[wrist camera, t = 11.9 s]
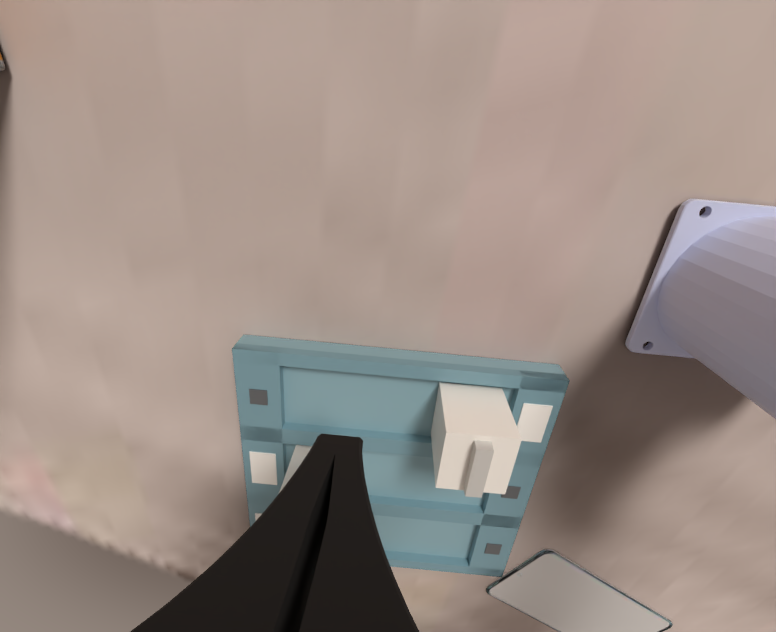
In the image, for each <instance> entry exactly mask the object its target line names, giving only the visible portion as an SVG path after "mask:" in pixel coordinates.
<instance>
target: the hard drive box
mask: <svg viewBox="0 0 776 632" xmlns="http://www.w3.org/2000/svg"><path fill="white" fill-rule="evenodd" d="M4 69H5V64H4V61H3V59H2V56H1V53H0V71H3V70H4Z"/></svg>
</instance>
